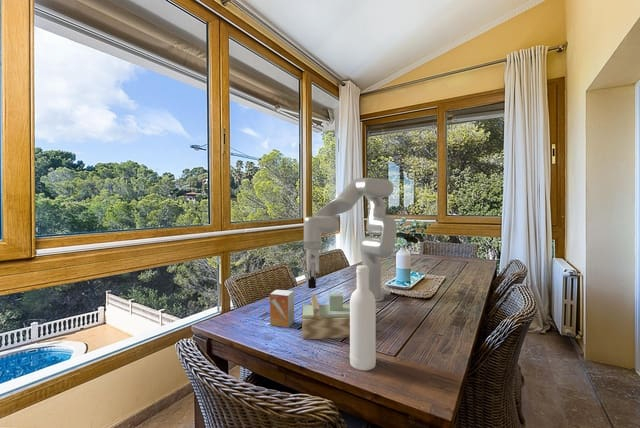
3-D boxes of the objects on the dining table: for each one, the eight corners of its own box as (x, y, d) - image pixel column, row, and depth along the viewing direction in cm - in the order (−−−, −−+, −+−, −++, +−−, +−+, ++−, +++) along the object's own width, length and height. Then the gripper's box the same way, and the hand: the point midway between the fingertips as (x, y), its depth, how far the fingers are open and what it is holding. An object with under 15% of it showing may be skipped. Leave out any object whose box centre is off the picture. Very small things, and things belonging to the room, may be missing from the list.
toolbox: (350, 321, 121) (350, 301, 120) (358, 338, 106) (357, 315, 105) (302, 323, 119) (301, 303, 119) (302, 340, 104) (302, 317, 104)
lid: (350, 306, 118) (350, 290, 118) (356, 316, 108) (356, 298, 107) (302, 308, 116) (302, 291, 116) (303, 318, 106) (302, 300, 106)
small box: (269, 325, 117) (269, 293, 117) (276, 319, 123) (276, 289, 123) (288, 328, 115) (288, 295, 114) (294, 321, 121) (294, 290, 120)
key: (316, 301, 120) (316, 294, 119) (319, 317, 104) (319, 308, 104) (311, 301, 119) (311, 294, 119) (313, 317, 104) (313, 309, 103)
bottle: (346, 367, 87) (346, 268, 86) (353, 354, 94) (353, 262, 93) (373, 373, 84) (373, 270, 83) (378, 359, 91) (378, 264, 90)
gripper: (322, 247, 118) (322, 292, 118) (319, 243, 133) (319, 283, 133) (304, 247, 117) (303, 293, 118) (303, 243, 132) (302, 283, 133)
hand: (311, 287), depth 125 cm, fingers closed
